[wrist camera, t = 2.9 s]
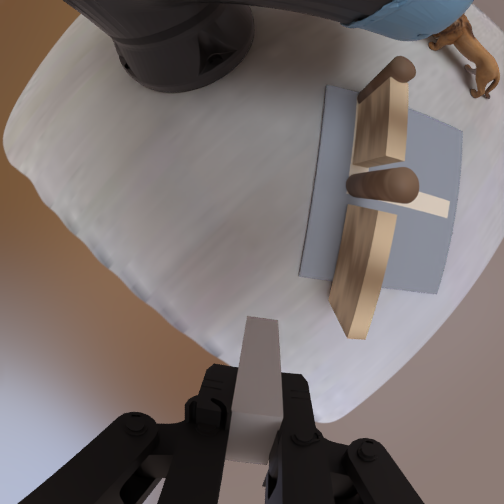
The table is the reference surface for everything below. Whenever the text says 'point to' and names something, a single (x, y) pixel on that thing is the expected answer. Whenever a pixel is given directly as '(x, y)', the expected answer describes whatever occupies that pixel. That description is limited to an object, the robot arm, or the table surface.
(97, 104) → the table surface
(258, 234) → the table surface
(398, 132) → the fence post and fixed section
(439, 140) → the card
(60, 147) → the table surface
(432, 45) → the lion figurine
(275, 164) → the table surface
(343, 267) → the hinged fence panel
